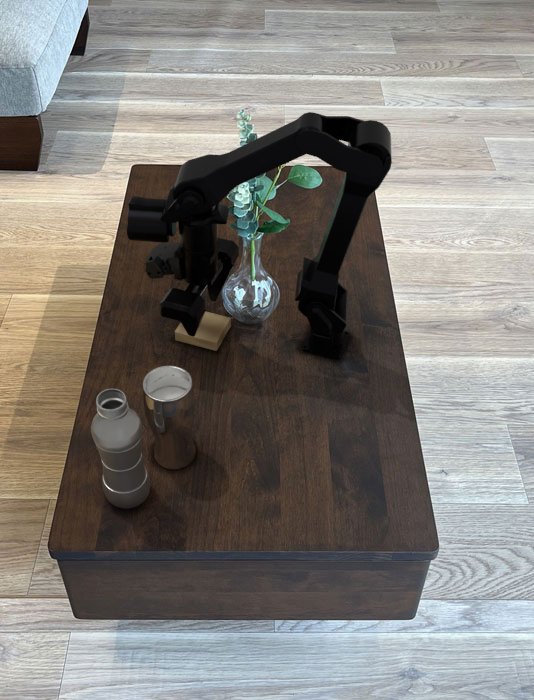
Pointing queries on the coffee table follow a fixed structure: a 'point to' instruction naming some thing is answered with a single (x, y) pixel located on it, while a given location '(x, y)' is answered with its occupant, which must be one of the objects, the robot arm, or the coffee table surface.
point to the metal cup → (170, 415)
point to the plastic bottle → (120, 450)
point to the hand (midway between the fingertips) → (202, 317)
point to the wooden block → (206, 331)
